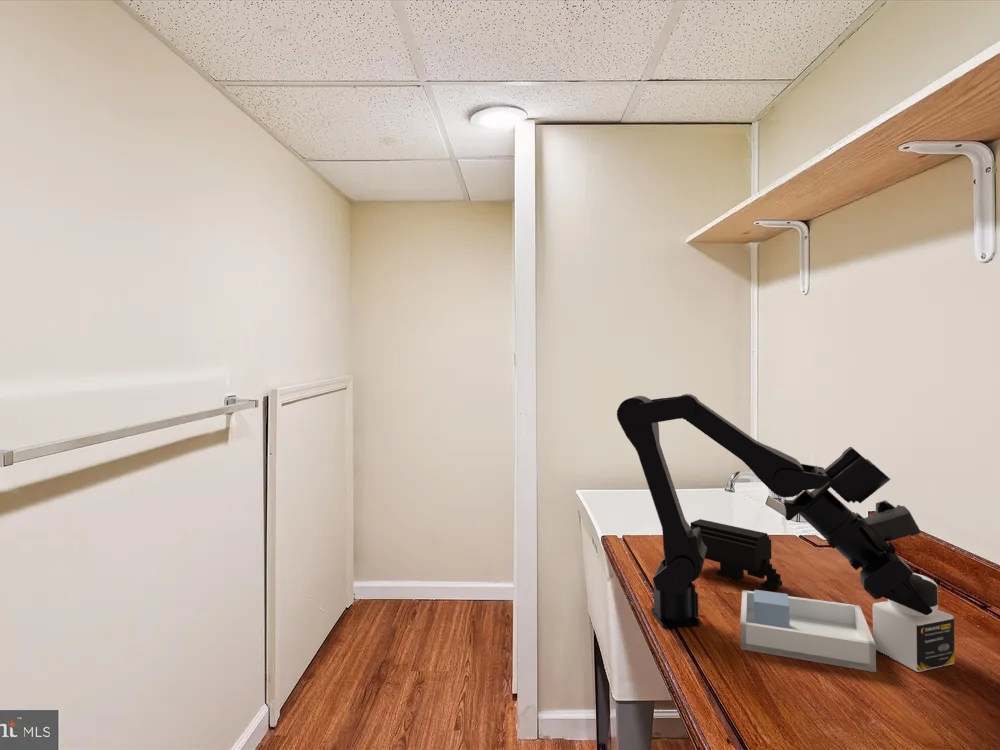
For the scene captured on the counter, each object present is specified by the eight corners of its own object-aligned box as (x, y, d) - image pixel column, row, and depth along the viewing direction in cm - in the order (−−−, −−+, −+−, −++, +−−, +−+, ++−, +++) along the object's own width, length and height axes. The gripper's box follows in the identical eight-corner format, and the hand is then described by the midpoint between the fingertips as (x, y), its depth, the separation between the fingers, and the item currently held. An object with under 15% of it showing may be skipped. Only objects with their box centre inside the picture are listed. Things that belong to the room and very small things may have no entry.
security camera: (771, 595, 106) (770, 543, 105) (684, 569, 120) (683, 523, 119) (787, 585, 110) (786, 535, 110) (701, 561, 124) (700, 517, 124)
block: (789, 638, 88) (789, 606, 87) (754, 632, 90) (754, 601, 90) (788, 624, 92) (787, 594, 92) (754, 619, 94) (754, 589, 94)
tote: (740, 649, 87) (740, 623, 86) (742, 612, 99) (742, 590, 99) (876, 672, 79) (875, 644, 79) (859, 629, 92) (859, 605, 91)
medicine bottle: (918, 673, 79) (917, 588, 78) (872, 649, 86) (870, 571, 85) (956, 664, 81) (955, 582, 80) (907, 641, 87) (907, 565, 87)
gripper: (892, 503, 76) (997, 596, 71) (867, 476, 93) (951, 550, 88) (826, 554, 79) (923, 645, 75) (814, 519, 96) (892, 592, 92)
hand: (923, 604), depth 82 cm, fingers closed on medicine bottle, 6 cm apart
